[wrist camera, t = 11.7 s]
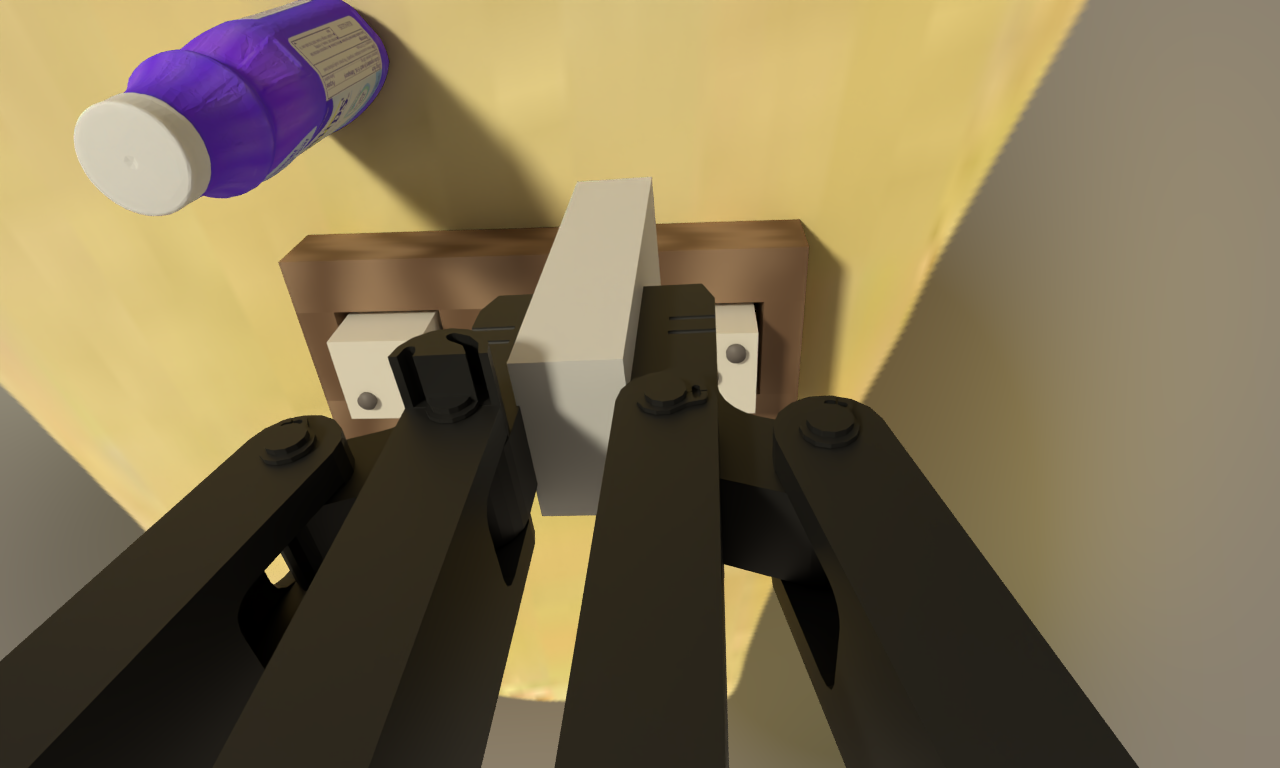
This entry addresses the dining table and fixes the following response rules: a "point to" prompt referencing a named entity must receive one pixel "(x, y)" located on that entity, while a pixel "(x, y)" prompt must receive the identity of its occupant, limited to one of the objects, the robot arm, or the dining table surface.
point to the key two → (375, 357)
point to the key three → (737, 353)
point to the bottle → (231, 106)
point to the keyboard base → (512, 265)
